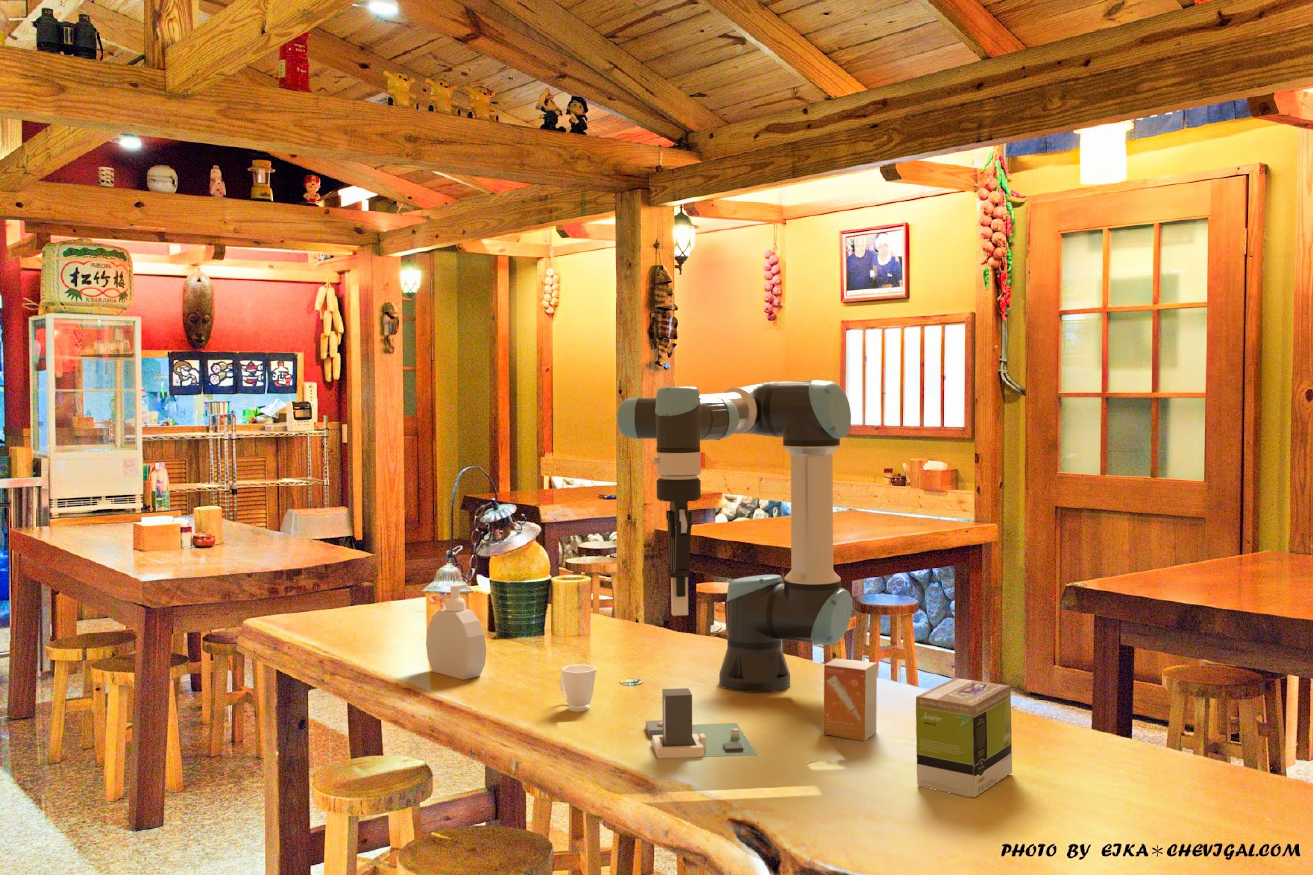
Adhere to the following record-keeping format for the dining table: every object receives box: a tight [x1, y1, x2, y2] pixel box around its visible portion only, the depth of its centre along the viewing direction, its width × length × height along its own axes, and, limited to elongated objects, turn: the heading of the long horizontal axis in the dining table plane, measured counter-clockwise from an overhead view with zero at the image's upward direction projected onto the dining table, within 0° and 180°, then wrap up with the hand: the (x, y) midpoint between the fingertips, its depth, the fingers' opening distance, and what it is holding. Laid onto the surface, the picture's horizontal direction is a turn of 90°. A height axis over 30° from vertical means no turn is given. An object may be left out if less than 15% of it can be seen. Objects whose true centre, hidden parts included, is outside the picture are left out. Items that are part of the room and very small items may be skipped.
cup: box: [559, 663, 597, 713], centre depth 228 cm, size 7×10×8 cm
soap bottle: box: [425, 583, 487, 681], centre depth 256 cm, size 16×5×20 cm, turn 46°
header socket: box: [651, 733, 706, 759], centre depth 196 cm, size 9×8×2 cm
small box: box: [823, 657, 878, 742], centre depth 209 cm, size 8×6×13 cm
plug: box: [661, 687, 693, 747], centre depth 196 cm, size 4×4×10 cm
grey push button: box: [645, 719, 663, 739], centre depth 205 cm, size 6×10×3 cm, turn 7°
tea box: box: [915, 677, 1013, 798], centre depth 183 cm, size 15×10×15 cm
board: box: [644, 722, 758, 760], centre depth 202 cm, size 17×19×3 cm
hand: (679, 614), depth 197 cm, fingers closed
